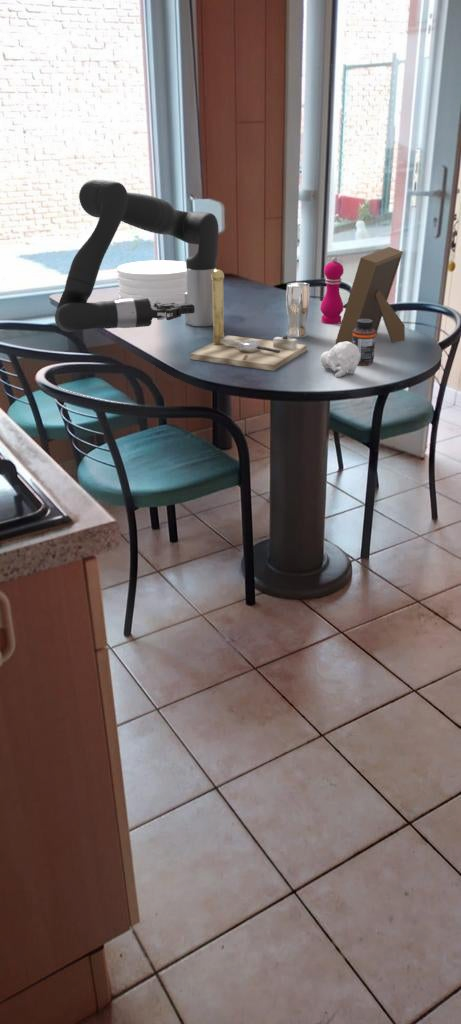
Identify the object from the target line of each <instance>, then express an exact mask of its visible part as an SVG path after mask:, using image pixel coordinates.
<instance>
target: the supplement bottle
mask: <svg viewBox="0 0 461 1024" xmlns="http://www.w3.org/2000/svg"><path fill="white" fill-rule="evenodd" d="M372 325H373V321H372V320H371V319H359V320H357V327H356V328H354V330H353V336H352V343H353V344H355V345H356V346H357V347H358V349H359V352H360V354H361V356H360V359H359V363H358V365H357V366H370V365H371V364H373V363H374V359H375V349H376V348H375V345H376V334H377V333H376V331H375V329H374V328H372Z"/></svg>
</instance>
